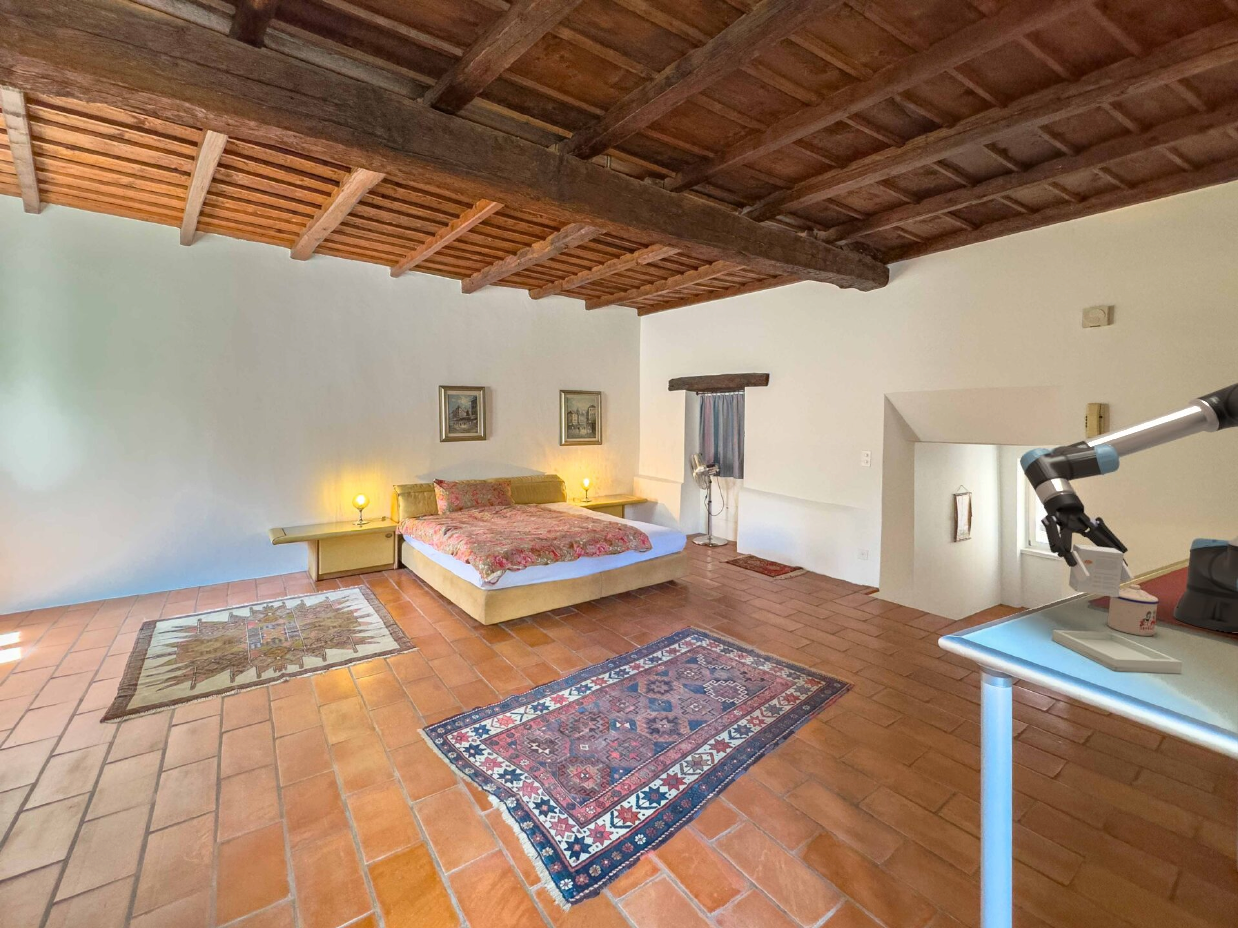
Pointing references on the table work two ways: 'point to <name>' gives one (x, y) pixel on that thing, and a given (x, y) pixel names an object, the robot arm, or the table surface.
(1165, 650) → the table surface
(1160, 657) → the sage tray
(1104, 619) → the table surface
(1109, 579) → the small box
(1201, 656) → the table surface
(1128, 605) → the teacup with lid
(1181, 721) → the table surface
